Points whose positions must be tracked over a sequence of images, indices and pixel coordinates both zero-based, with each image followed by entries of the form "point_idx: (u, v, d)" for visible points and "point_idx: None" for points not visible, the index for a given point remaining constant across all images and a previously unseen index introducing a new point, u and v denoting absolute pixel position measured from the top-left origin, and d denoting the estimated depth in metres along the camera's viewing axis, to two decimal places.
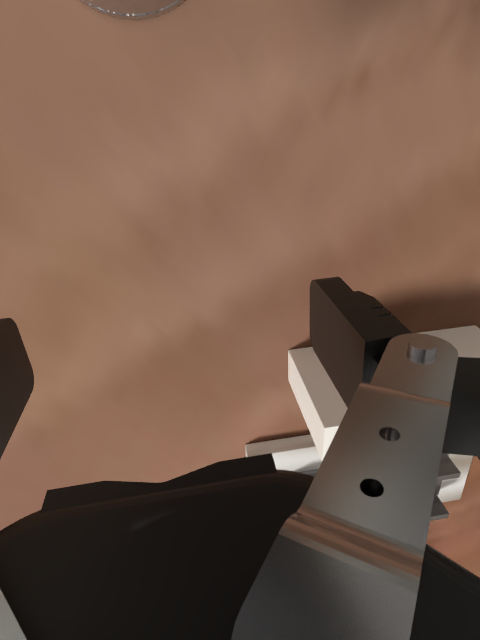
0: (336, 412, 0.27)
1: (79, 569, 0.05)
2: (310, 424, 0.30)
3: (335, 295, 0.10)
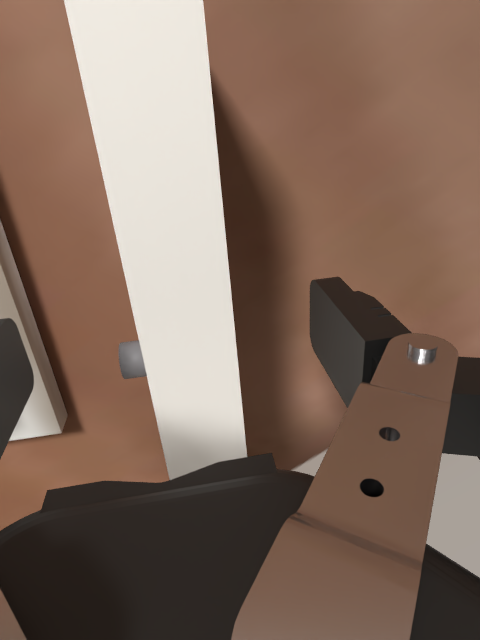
0: None
1: (79, 569, 0.05)
2: None
3: (335, 295, 0.10)
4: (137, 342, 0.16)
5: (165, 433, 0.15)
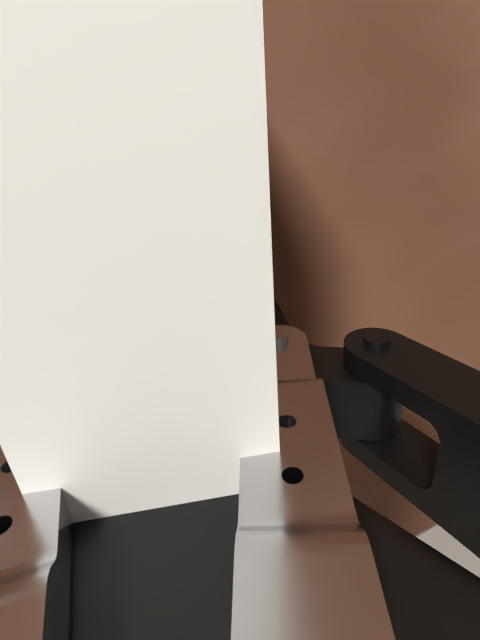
0: None
1: (79, 569, 0.05)
2: None
3: None
4: None
5: None
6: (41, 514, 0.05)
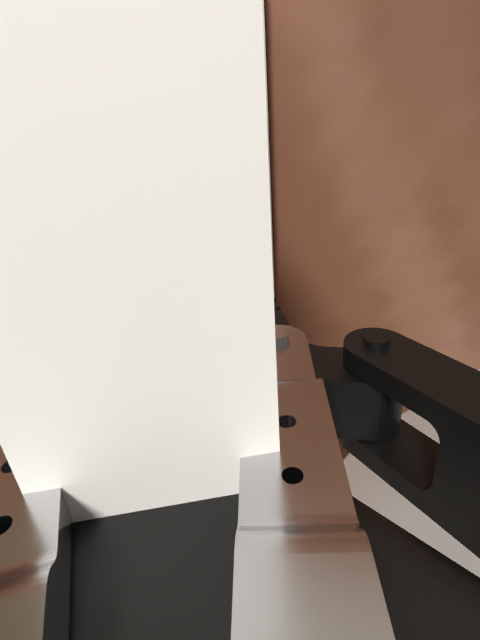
0: None
1: (79, 569, 0.05)
2: None
3: None
4: None
5: None
6: (41, 514, 0.05)
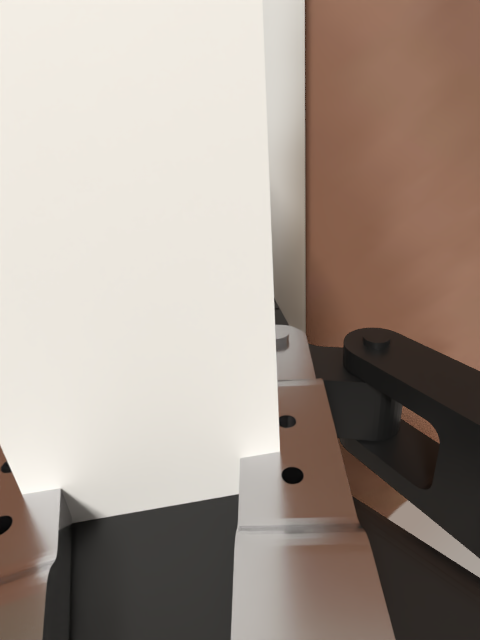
0: None
1: (79, 569, 0.05)
2: None
3: None
4: None
5: None
6: (41, 514, 0.05)
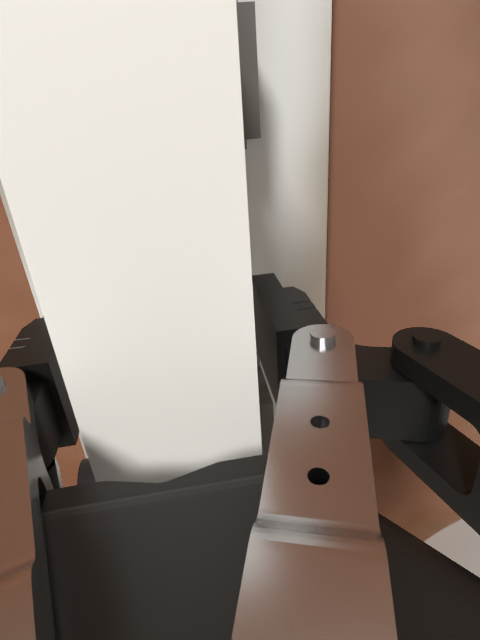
0: None
1: (79, 569, 0.05)
2: None
3: (264, 290, 0.11)
4: None
5: None
6: (12, 520, 0.05)
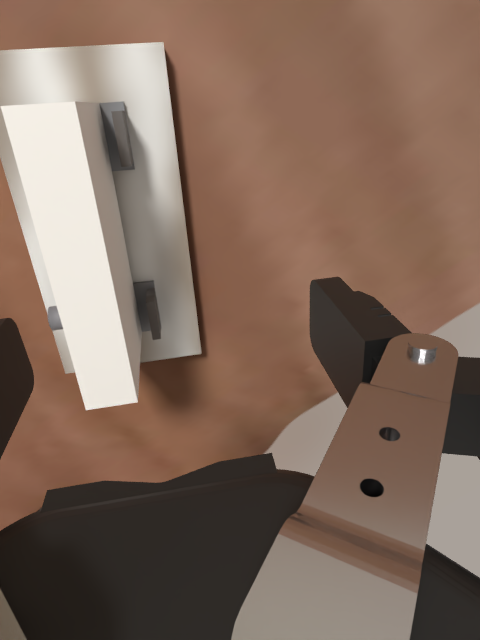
0: (85, 130, 0.20)
1: (79, 569, 0.05)
2: None
3: (335, 295, 0.10)
4: None
5: (76, 362, 0.24)
6: None
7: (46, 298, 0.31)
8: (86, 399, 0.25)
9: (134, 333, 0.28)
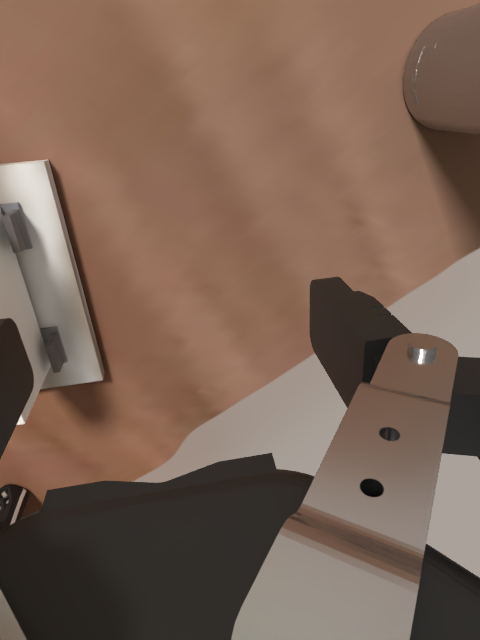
0: None
1: (79, 569, 0.05)
2: None
3: (335, 295, 0.10)
4: None
5: None
6: None
7: None
8: None
9: None
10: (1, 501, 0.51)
